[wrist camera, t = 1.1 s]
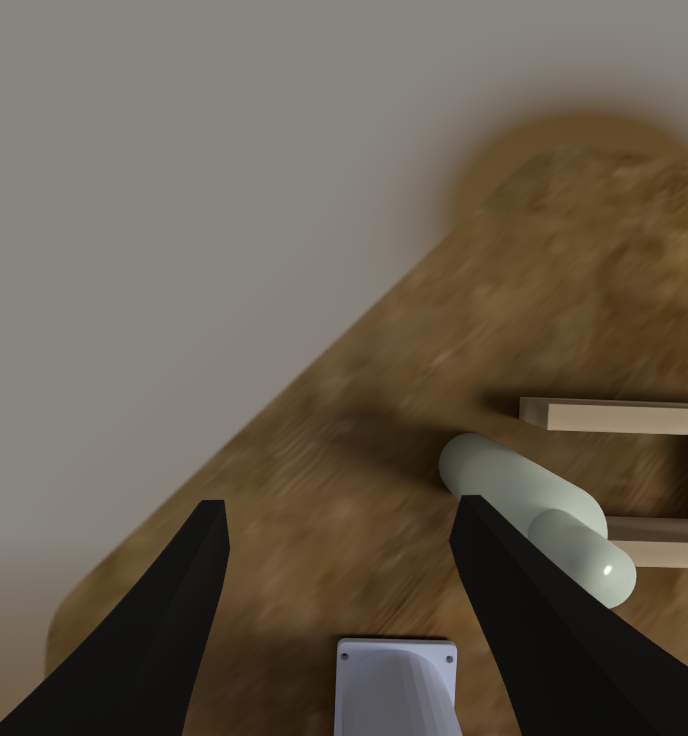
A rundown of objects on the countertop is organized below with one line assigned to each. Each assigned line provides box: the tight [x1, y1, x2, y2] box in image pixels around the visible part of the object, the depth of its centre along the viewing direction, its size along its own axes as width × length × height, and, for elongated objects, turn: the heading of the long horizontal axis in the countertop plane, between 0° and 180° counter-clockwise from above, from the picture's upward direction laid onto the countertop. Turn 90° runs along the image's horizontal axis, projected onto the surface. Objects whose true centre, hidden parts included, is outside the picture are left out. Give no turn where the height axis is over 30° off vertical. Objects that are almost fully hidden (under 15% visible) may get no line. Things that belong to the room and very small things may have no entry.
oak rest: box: [519, 397, 688, 568], centre depth 21 cm, size 9×14×3 cm, turn 88°
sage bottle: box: [439, 433, 636, 609], centre depth 16 cm, size 4×4×11 cm
